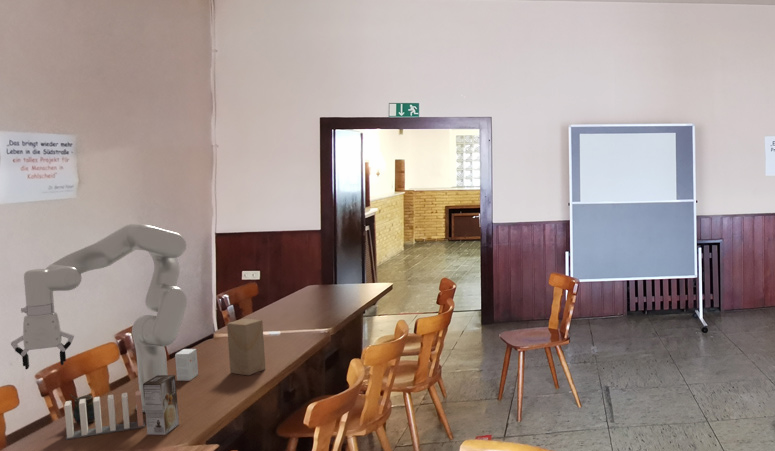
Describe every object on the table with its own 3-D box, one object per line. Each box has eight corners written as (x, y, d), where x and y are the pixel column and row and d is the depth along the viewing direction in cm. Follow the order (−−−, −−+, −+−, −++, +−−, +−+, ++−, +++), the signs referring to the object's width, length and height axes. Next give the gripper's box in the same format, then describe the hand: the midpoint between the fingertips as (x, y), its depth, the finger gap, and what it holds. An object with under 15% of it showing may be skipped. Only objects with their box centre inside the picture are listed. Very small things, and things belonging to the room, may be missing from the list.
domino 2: (82, 430, 226) (79, 399, 225) (88, 429, 226) (85, 398, 225) (81, 435, 221) (78, 403, 220) (87, 434, 222) (84, 403, 221)
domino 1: (68, 432, 224) (65, 401, 224) (74, 431, 225) (71, 400, 224) (67, 438, 220) (64, 406, 219) (72, 437, 220) (70, 405, 219)
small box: (185, 374, 285) (183, 348, 285) (198, 374, 285) (196, 348, 284) (176, 380, 278) (174, 354, 277) (190, 380, 277) (188, 353, 276)
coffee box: (161, 424, 229) (157, 374, 227) (179, 424, 228) (176, 374, 226) (146, 434, 220) (142, 383, 218) (166, 435, 219) (162, 383, 217)
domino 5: (124, 423, 230) (121, 393, 229) (129, 423, 230) (127, 392, 230) (124, 428, 225) (121, 397, 224) (129, 428, 226) (127, 396, 225)
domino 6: (137, 421, 231) (135, 391, 230) (143, 421, 232) (140, 390, 231) (138, 426, 226) (135, 395, 226) (143, 425, 227) (140, 394, 226)
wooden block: (248, 375, 279) (244, 325, 278) (229, 373, 284) (226, 323, 283) (266, 369, 287) (262, 319, 286) (247, 366, 293) (244, 318, 291)
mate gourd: (100, 422, 234) (96, 392, 233) (75, 428, 230) (71, 397, 229) (95, 416, 240) (92, 387, 239) (71, 421, 236) (68, 392, 235)
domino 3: (96, 428, 227) (94, 397, 226) (102, 427, 228) (99, 396, 227) (96, 433, 222) (93, 401, 222) (101, 432, 223) (98, 401, 222)
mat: (67, 433, 225) (67, 432, 225) (144, 421, 232) (144, 420, 232) (65, 439, 219) (65, 438, 219) (145, 427, 227) (145, 426, 227)
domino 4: (110, 426, 228) (108, 395, 228) (116, 425, 229) (113, 394, 228) (110, 431, 224) (107, 399, 223) (115, 430, 224) (113, 398, 224)
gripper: (6, 315, 211) (11, 373, 212) (71, 309, 217) (75, 365, 218) (10, 311, 218) (14, 367, 219) (72, 305, 224) (76, 359, 225)
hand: (44, 366), depth 218 cm, fingers open, 9 cm apart
